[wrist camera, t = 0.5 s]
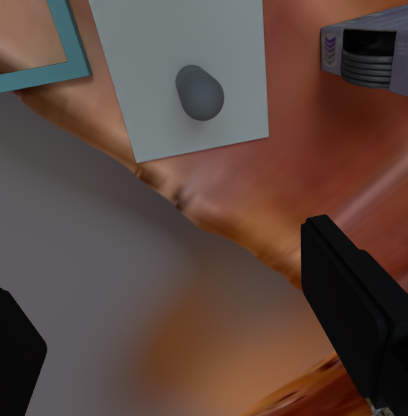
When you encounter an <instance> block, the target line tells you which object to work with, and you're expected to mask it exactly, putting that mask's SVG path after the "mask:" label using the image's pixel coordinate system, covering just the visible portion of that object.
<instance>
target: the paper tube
mask: <svg viewBox="0 0 408 416" xmlns="http://www.w3.org/2000/svg"><path fill="white" fill-rule="evenodd" d="M366 401H367V403H368V405H369V407H370V408H371V410H372V412H373V414H374V416H394V414H393V413H392V411H391V410H390V408H389V407H386V408H382V409H377V410H375V408H374V406H373V405H372V403H371V401H370V399H369V398H366Z"/></svg>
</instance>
